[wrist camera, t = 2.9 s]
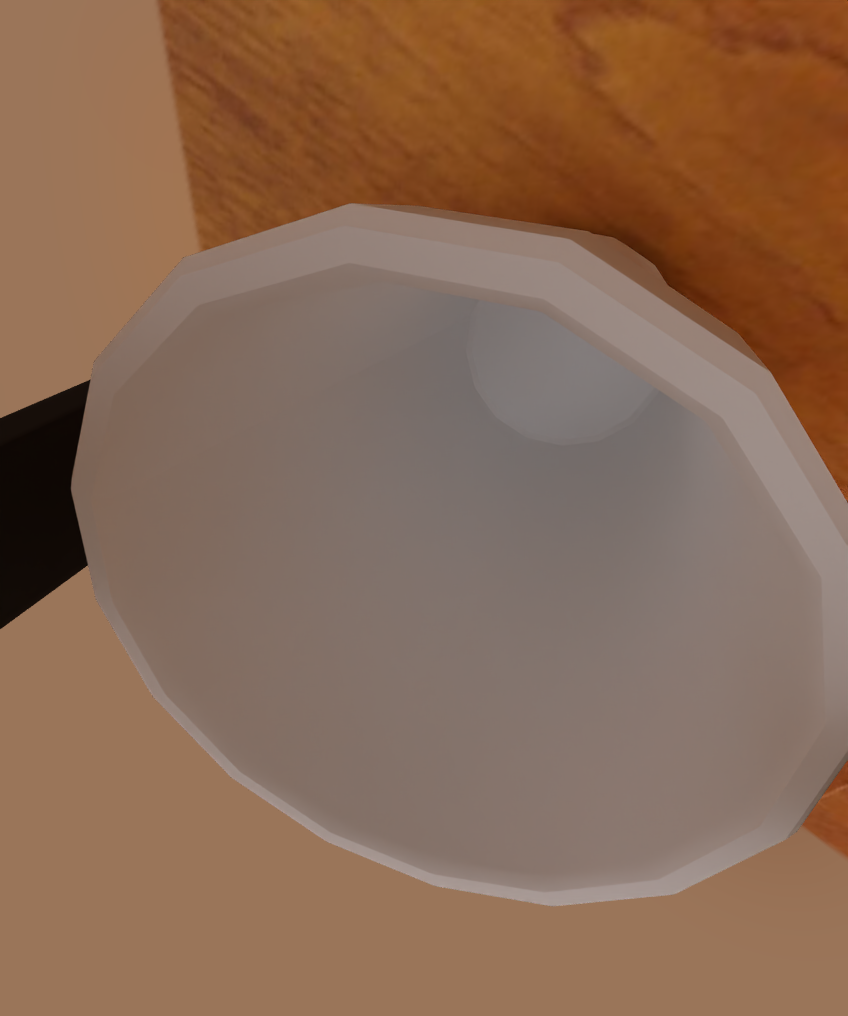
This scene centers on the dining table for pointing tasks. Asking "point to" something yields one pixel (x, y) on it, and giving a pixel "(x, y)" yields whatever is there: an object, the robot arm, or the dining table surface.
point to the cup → (473, 551)
